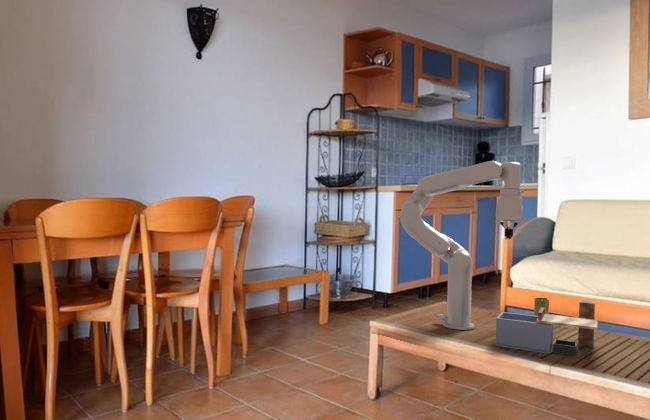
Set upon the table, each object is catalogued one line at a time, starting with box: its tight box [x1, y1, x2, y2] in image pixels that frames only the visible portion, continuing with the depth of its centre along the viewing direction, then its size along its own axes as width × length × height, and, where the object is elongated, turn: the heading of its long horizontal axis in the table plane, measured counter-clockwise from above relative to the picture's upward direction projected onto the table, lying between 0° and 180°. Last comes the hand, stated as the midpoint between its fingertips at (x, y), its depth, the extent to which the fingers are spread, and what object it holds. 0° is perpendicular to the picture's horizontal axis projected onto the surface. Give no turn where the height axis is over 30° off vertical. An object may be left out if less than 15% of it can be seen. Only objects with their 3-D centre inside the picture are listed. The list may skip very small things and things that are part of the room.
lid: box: [537, 307, 599, 331], centre depth 181 cm, size 19×13×3 cm
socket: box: [552, 338, 578, 357], centre depth 181 cm, size 7×7×3 cm
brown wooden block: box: [577, 299, 596, 349], centre depth 190 cm, size 5×5×16 cm
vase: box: [533, 296, 550, 316], centre depth 204 cm, size 6×6×14 cm
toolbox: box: [495, 311, 554, 355], centre depth 188 cm, size 18×12×10 cm, turn 62°
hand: (508, 238), depth 209 cm, fingers closed
